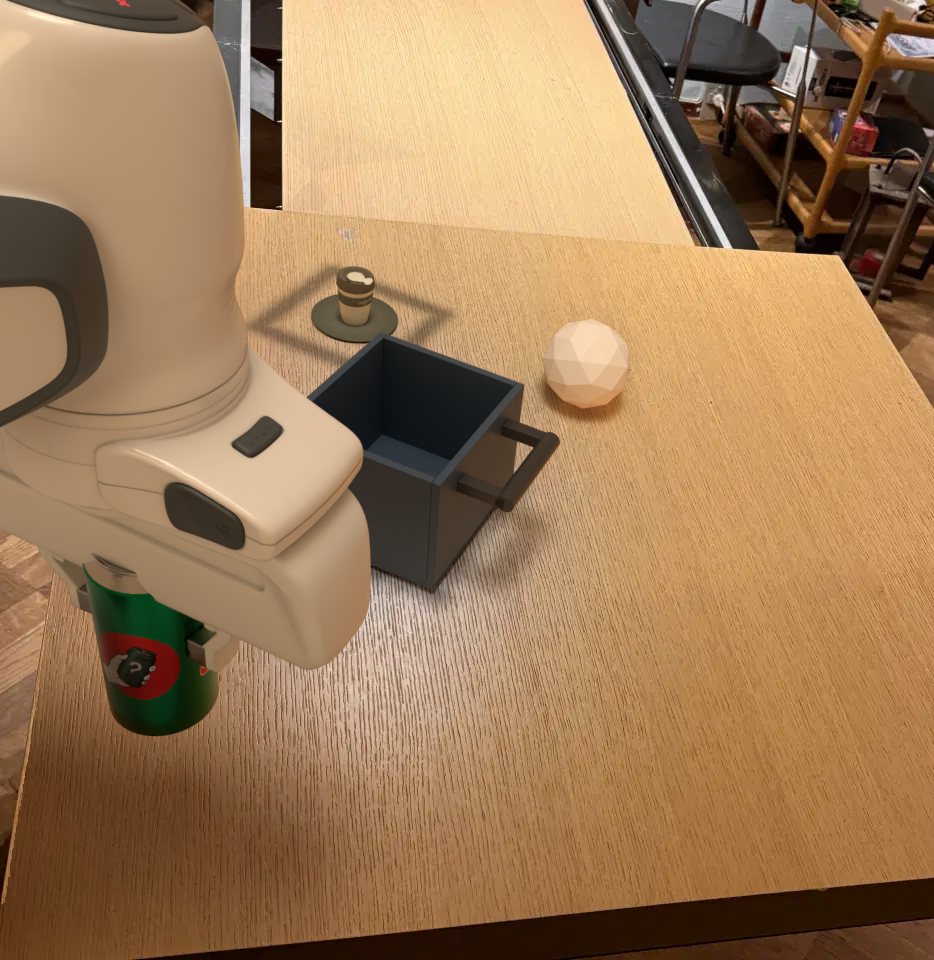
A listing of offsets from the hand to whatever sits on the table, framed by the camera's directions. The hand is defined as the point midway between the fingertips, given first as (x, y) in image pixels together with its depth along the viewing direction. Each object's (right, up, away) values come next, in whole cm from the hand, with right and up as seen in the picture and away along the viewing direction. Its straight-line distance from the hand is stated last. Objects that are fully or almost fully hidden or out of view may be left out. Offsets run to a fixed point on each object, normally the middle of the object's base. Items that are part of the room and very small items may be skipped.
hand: (157, 630), depth 48 cm
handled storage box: (+7, +4, +29) cm, 30 cm away
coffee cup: (-3, +22, +46) cm, 51 cm away
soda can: (-1, -4, +4) cm, 6 cm away
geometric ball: (+17, +15, +44) cm, 50 cm away
